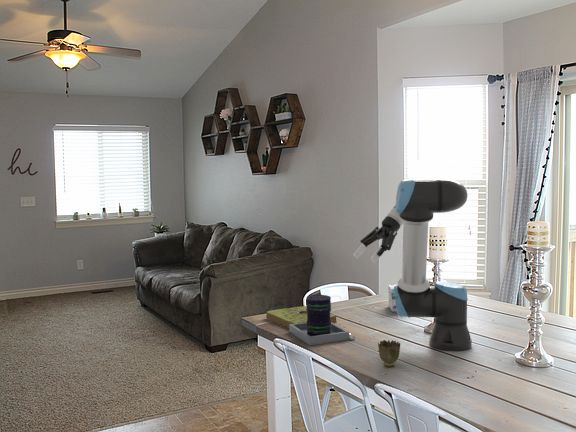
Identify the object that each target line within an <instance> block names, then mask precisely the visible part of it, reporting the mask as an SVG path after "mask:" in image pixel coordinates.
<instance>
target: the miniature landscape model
mask: <svg viewBox="0 0 576 432" xmlns="http://www.w3.org/2000/svg"><path fill="white" fill-rule="evenodd" d="M306 309H307V307H306V305H304V306H303V305H300V306H295V307H284V308H280V309H279V308H278V309H271V310H268V311H266V315H265V319H266V318H267V319H266V320H268V319H269V321H270V320H271V322H274V323H276V324H278V325H280V326H283V327H285V326H286V328H288V329H289V324H296V323H304V322H307V310H306ZM330 320H331V322H332V323H334V324H336V323H337V315H336V314H333V313H331V312H330Z"/></svg>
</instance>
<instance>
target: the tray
mask: <svg viewBox="0 0 576 432" xmlns="http://www.w3.org/2000/svg"><path fill="white" fill-rule="evenodd" d="M288 329H289V331H288V332H289V333H290V332H291V334H292V335H293V334H294V335H293V336H295V337H297V339H299V340H301V341H302V342H304V343H305V344H307V346H313V345H314V346H315V345H316V346H317V345H321V344H329V343H335V342H343V341H349V340H350V339H349V333H350V331H348V330H347V329H345V328H343V327H341V326H339V325H338V324H336V323H332V322H331V334H324V335H317V336H309V335H308V334H307V323H306V322H304V323H296V324H289V328H288Z"/></svg>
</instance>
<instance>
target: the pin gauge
mask: <svg viewBox="0 0 576 432" xmlns="http://www.w3.org/2000/svg"><path fill="white" fill-rule="evenodd" d="M349 340H350V341H355V340H356V336H355V335H353V334H351V333H350V332H349Z"/></svg>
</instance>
